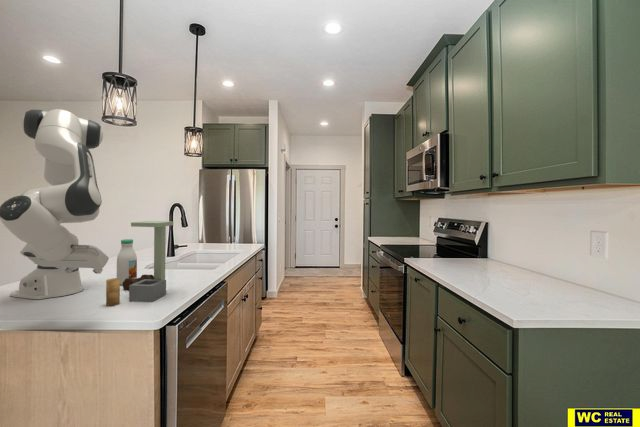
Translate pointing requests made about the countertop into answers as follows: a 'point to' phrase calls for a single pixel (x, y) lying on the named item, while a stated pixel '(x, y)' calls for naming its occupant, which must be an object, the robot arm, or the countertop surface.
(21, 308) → the countertop surface
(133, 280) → the bolt
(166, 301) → the countertop surface
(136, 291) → the socket
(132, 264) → the milk bottle
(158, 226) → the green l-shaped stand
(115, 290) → the peg
